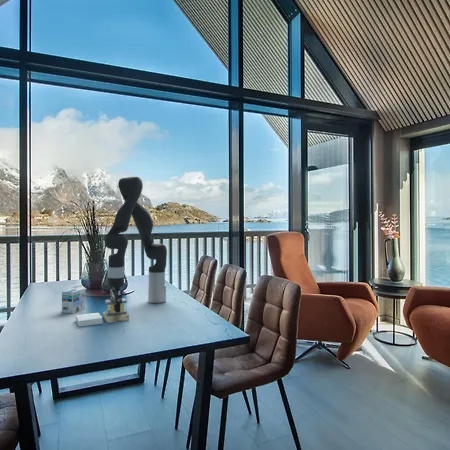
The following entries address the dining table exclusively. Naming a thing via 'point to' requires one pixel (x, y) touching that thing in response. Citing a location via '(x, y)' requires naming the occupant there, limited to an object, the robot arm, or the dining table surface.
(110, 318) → the stand
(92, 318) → the stand
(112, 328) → the dining table surface
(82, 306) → the light bulb box
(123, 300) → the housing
